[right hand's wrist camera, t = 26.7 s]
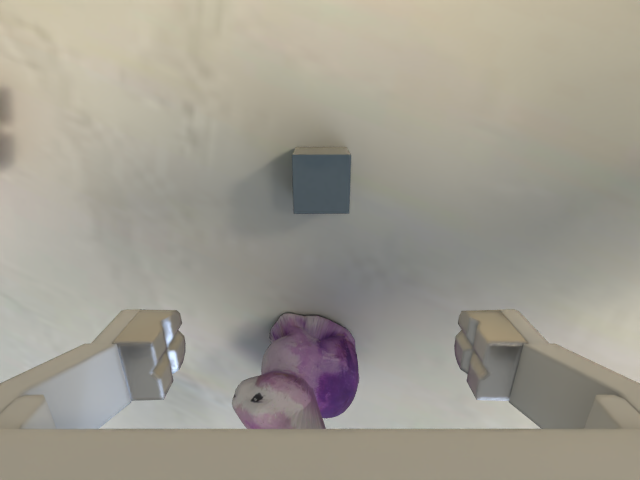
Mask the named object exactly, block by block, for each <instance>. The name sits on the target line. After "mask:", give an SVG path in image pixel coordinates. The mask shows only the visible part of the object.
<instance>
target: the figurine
mask: <svg viewBox="0 0 640 480" xmlns="http://www.w3.org/2000/svg"><path fill="white" fill-rule="evenodd" d="M269 338H270V341H271V345H270V346H269V347H268V349H267V350H266V352H265V354H264V356H263V360H262V369H261V373H262V375H260V376H256V377H252V378H249V379H246V380H244V381H242V382H241V383H240V384H239V385H238V387H237V389H236V391H235V394H234V397H233V400H232V406H233V409H234V411H235V412H236V414H237V415H238V417H239V418H240V420H241V421H242V423H243V424H244V425H245V427H246V428H247V429H326V428H325V425H324V422H323V419H322V418H332V417H335V416H338V415H340V414H342V413H343V412H344V411H345V410H346V409H347V408H348V407H349V406H350V404H351V403H352V401H353V399H354V397H355V394H356V391H357V386H358V383H359V374H358V361H357V354H356V351H355V341H354V338H353V337H352V335H351V333H350V332H349V331H348V330H347V329H346V328H344V327H342V326H340V325H338V324H336V323H334V322H332V321H330V320H328V319H326V318H323V317H320V316H318V315H317V316H301V315H297V314H291V313H285V314H283V315H281V316H280V317H279V319H278V321H277V322H276V323H275V324H274V326H273V327H272V328H271V330H270V337H269Z"/></svg>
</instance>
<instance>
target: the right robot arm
mask: <svg viewBox="0 0 640 480" xmlns="http://www.w3.org/2000/svg"><path fill="white" fill-rule="evenodd" d="M181 324H182V321H181V316H180V313H179V312H178V311H177V310H141V309H135V310H123V311H121V312H120V313H119V314H118V315H117V316H116V317H115V318H114V319H113V321H112V322H111V323H110V324H109V325H108V326H107V327H106V328H105V329H104V330H103V331H102V332H101V333H100V334H99V335H98V336H97V338H96V339H95V340H94V341H93V342H92V343H91V344H83V345H81V346H79V347H77V348H75V349H73V350H70V351H68V352H66V353H64V354H62V355H60V356H58V357H56V358H53V359H51V360H49V361H47V362H45V363H43V364H41V365H39V366H36V367H34V368H32V369H30V370H28V371H26V372H24V373H22V374H19V375H17V376H15V377H13V378H11V379H9V380H7V381H4V382H2V383H0V480H640V383H637V382H635V381H633V380H631V379H629V378H627V377H625V376H623V375H620V374H618V373H616V372H614V371H612V370H610V369H608V368H606V367H603V366H601V365H599V364H597V363H595V362H593V361H591V360H589V359H586V358H584V357H582V356H580V355H578V354H576V353H574V352H572V351H569V350H567V349H565V348H563V347H561V346H559V345H557V344H549V343H548V342H547V341H546V340H545V339H544V337H543V336H542V335H541V334H540V333H539V332H538V331H537V330H536V329H535V328H534V327H533V326H532V325H531V324H530V323H529V322H528V320H527V319H526V318H525V317H524V316H523V315H522V314H521V313H520V312H519V311H517V310H515V309H507V310H478V311H461V313H460V315H459V320H458V324H459V326H460V327H461V329H462V330H461V331H460V332H459V333H458V334H457V335H456V338H455V346H454V347H455V356H456V360H457V363H458V365H459V367H460V369H461V370H462V371H464V372H465V373H467V374H468V377H467V383H468V384H469V386H470V388H471V390H472V392H473V394H474V396H475V398H476V400H507V401H509V403H511V404H512V405H513V406H514V407H515V408H517V409H518V410H519V411H520V412H522V413H523V414H524V415H525V416H527V417H528V418H529V419H530V420H532V421H533V422H534V423H535V424H536V425H538V426H539V427H540V428H541V429H99V428H100V427H101V426H102V425H104V424H105V423H106V422H107V421H109V420H110V419H111V418H112V417H114V416H115V415H116V414H117V413H119V412H120V411H121V410H122V409H123V408H125V407H126V406H127V405H128V404H130V403H131V401H133V400H164V398H165V396H166V394H167V392H168V390H169V388H170V386H171V384H172V383H173V376H172V374H173V373H175V372H176V371H178V370H179V369H180V367H181V365H182V363H183V360H184V355H185V338H184V335H183V334H182V333H181V332H180V331H179V330H178V329H179V327H180V326H181Z"/></svg>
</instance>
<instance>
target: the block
mask: <svg viewBox="0 0 640 480" xmlns="http://www.w3.org/2000/svg"><path fill="white" fill-rule="evenodd" d="M292 174H293V208H294V214H349V208H350V175H351V154H350V152H349V150H348V148H347V147H296V148H295V150H294V152H293V154H292Z"/></svg>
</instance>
